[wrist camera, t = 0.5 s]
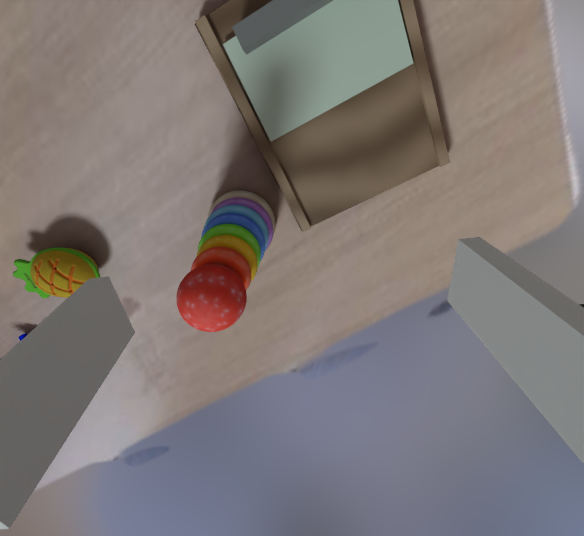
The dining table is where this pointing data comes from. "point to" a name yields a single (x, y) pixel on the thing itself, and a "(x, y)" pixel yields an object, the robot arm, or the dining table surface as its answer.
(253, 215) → the stacking toy
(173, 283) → the dining table surface
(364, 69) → the lid
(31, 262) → the toy pineapple
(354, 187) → the wooden frame
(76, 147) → the dining table surface
